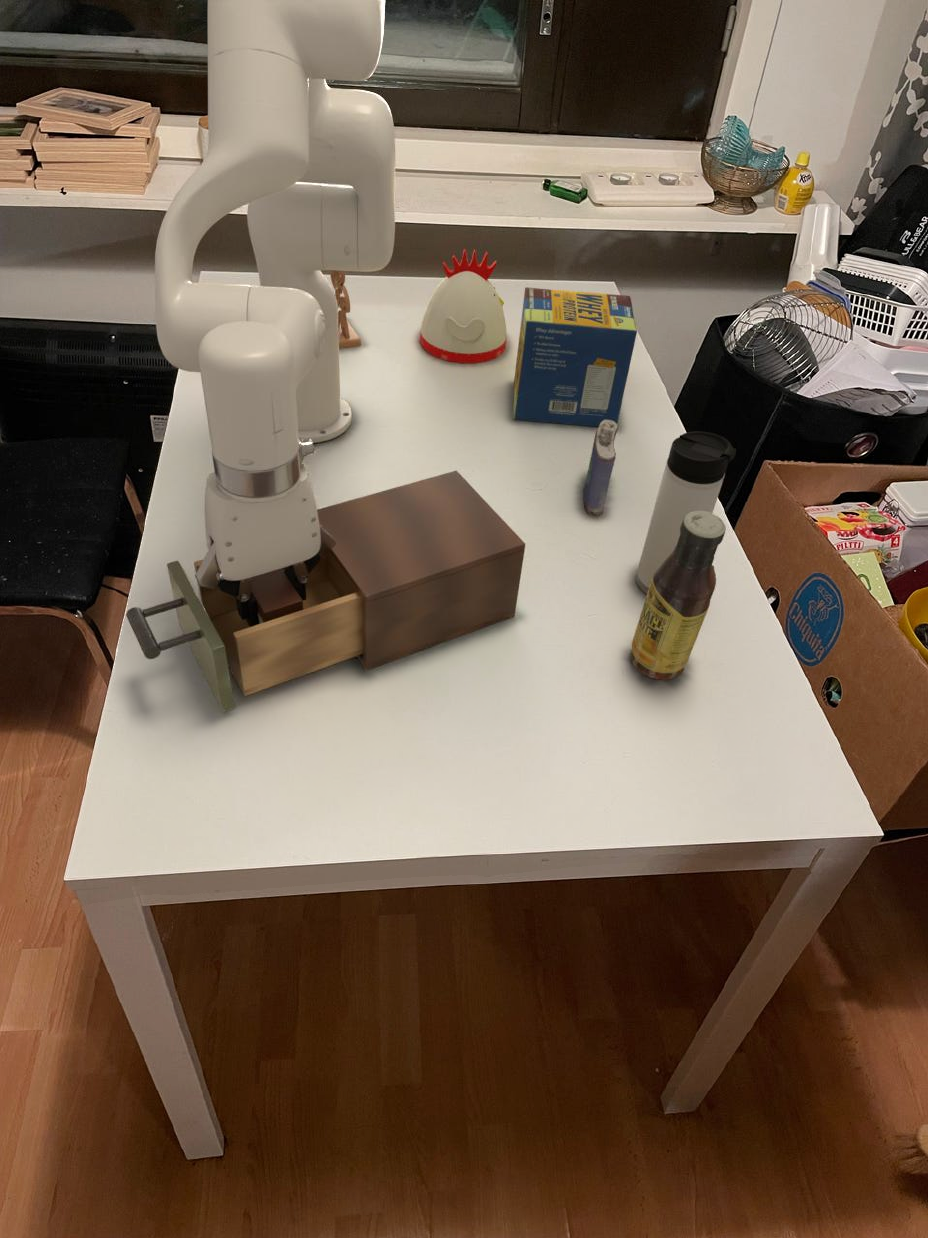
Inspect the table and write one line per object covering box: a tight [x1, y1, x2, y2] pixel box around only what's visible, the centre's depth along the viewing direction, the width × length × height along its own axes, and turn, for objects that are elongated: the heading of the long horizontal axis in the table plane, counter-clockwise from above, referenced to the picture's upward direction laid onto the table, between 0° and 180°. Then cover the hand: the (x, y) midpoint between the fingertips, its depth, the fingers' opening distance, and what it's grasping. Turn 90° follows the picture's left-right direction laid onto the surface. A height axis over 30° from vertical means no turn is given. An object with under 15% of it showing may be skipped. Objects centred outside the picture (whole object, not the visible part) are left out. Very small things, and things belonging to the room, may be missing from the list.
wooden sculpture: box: [329, 270, 362, 349], centre depth 144 cm, size 9×4×12 cm, turn 25°
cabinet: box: [317, 470, 526, 671], centre depth 101 cm, size 19×15×11 cm
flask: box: [582, 420, 619, 516], centre depth 118 cm, size 9×3×11 cm, turn 172°
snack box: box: [245, 568, 303, 627], centre depth 94 cm, size 4×7×7 cm, turn 31°
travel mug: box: [635, 431, 737, 595], centre depth 103 cm, size 6×7×20 cm
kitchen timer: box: [419, 248, 507, 364], centre depth 144 cm, size 14×14×15 cm
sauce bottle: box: [630, 511, 726, 681], centre depth 93 cm, size 6×6×20 cm
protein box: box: [512, 287, 638, 428], centre depth 132 cm, size 10×15×16 cm
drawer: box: [125, 551, 363, 712], centre depth 93 cm, size 23×13×9 cm, turn 121°
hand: (272, 611), depth 94 cm, fingers closed on snack box, 4 cm apart
